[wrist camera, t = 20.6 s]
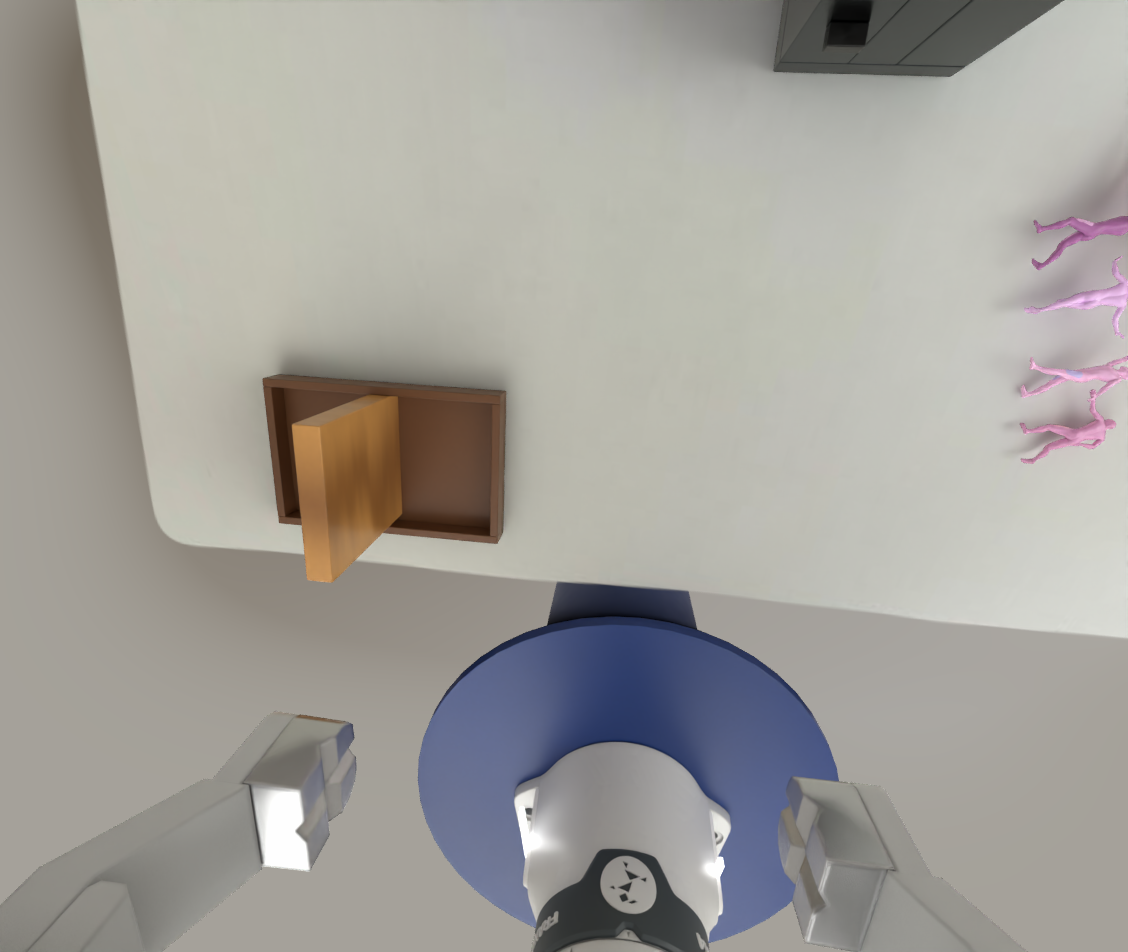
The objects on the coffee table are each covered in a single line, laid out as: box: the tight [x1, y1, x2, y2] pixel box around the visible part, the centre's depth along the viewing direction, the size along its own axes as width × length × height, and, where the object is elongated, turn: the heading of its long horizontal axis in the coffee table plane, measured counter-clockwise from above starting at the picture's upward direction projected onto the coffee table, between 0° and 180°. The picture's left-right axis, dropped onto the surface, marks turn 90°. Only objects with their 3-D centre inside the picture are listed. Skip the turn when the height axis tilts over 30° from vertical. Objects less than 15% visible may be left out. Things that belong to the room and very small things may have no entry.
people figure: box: [1020, 216, 1128, 464], centre depth 33 cm, size 18×6×8 cm
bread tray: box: [263, 375, 506, 544], centre depth 41 cm, size 11×17×2 cm, turn 87°
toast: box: [292, 394, 402, 582], centre depth 36 cm, size 10×2×11 cm, turn 177°
